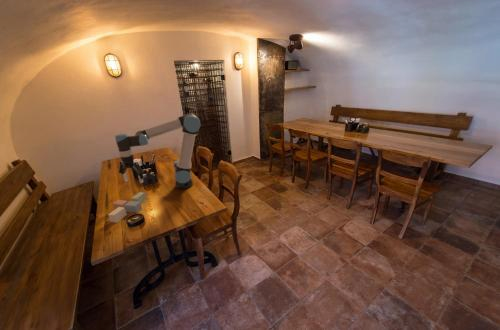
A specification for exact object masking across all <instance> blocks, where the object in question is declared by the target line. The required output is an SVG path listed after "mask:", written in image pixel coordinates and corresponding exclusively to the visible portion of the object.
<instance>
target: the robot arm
mask: <svg viewBox="0 0 500 330" xmlns="http://www.w3.org/2000/svg"><path fill="white" fill-rule="evenodd" d="M200 128H201V120H200V118H199V117H198V116H197V115H196V114H194V113H191V112H190V113H186V114H184V115H183V114H182V115H181V116H178V117H177V118H176V119H174V120H171V121H167V122H164V123H162V124H158V125H156V126H153V127H149V128H146V129H143V130H138V131H137V132H135V135H131V136H130V135H129V136H128V134H127V133H118V134H116V135H115V136H114V138H115V142H116V145H117V150H118V153H119V155H120V160H121V161H119V170H118V173H119V174H121V175H122V178H123V180H124V182H125V183H127V182H128V181H129V178H128V174H127V170H128V169H132V170H133V171H134V172H136V174H137V177H138V181H139V184H143V183H144V176H143V174H145V171H144V170H143V168H142V167H141V165H140V164H139V162H138V161H136V162H135V161H134V159H135V158H134V156H133V152H132V148H133V147H141V146H142V147H143V146H147V145H149V140H150V139H153V138H155V137H159V136H162V135H166V134H168V133H172V132H174V131H177V130H180V129H182V130H181V132H182V133H183V136H182V143H181V147H180V153H179V154H180V155H179V159H178V160H176V161H174V162H173V165H172V166H173V169H174V179H175V188H176V189H178V190H186V189H189V188H191V187H192V186H193V185H194V180H193V179H192V174H191V172H192V165H191V162H192V161H191V160H192V155H193V149H194V145H195V141H196V140H195V139H196V136H198V135H199V130H200Z"/></svg>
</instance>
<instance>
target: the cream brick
mask: <svg viewBox="0 0 500 330" xmlns="http://www.w3.org/2000/svg"><path fill="white" fill-rule="evenodd" d="M107 215H108V218H109V221H110V223H114V224H115V223H119V222H120V221H121V220H122V219H123V218H125V217H126V216H128V212H127V211H126V210H125V208H124V207H118V208H117V209H115V210H112V211H110V213H108V214H107Z"/></svg>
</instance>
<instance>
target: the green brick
mask: <svg viewBox="0 0 500 330" xmlns="http://www.w3.org/2000/svg"><path fill="white" fill-rule="evenodd" d="M146 200H148V198H147V194H146V192H143V191H142V192H141V191H139V192H138V193H137V194H135V195H133V196H132V197H131V201H134V202H140V203H141V204H143V203H144V202H145V201H146Z"/></svg>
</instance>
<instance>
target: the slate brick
mask: <svg viewBox="0 0 500 330" xmlns="http://www.w3.org/2000/svg"><path fill="white" fill-rule="evenodd" d="M125 208H126V213H135V214H138V213H139V212H140V211H141V210H143V208H142V203H140V202H134V201H132V200H130V201H129V200H128V203H126V204H125Z"/></svg>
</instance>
